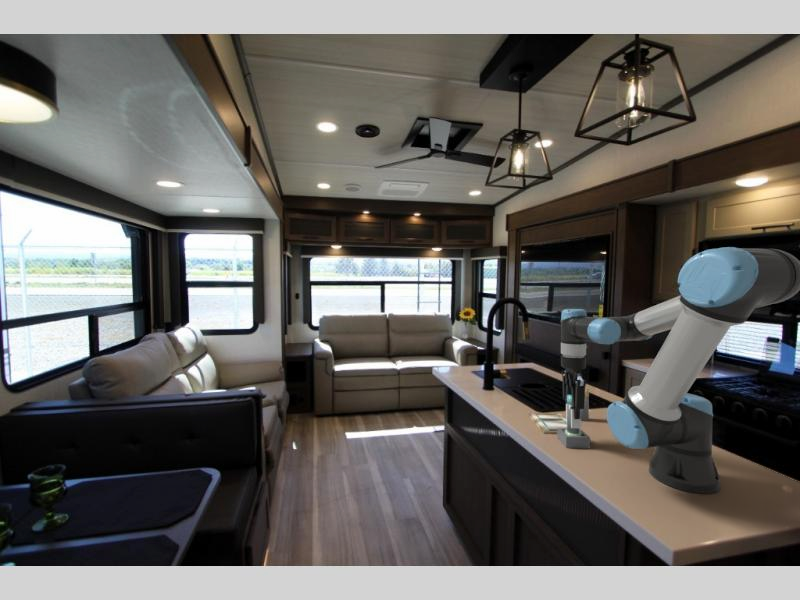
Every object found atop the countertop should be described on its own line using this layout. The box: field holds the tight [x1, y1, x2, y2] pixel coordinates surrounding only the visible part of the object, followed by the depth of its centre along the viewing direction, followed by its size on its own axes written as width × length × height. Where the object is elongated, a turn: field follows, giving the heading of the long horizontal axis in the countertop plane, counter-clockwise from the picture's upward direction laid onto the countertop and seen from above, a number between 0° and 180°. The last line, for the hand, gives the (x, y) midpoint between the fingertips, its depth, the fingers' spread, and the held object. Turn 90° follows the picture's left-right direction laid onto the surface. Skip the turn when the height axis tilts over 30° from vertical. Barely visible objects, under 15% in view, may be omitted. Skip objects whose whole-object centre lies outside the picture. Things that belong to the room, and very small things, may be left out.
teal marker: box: [566, 394, 579, 434], centre depth 119 cm, size 4×4×12 cm
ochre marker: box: [580, 387, 590, 422], centre depth 140 cm, size 4×4×12 cm
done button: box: [565, 429, 582, 436], centre depth 119 cm, size 5×5×4 cm
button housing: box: [556, 427, 591, 449], centre depth 119 cm, size 8×8×4 cm
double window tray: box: [528, 412, 567, 435], centre depth 136 cm, size 18×13×1 cm
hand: (573, 425), depth 119 cm, fingers closed on teal marker, 3 cm apart
